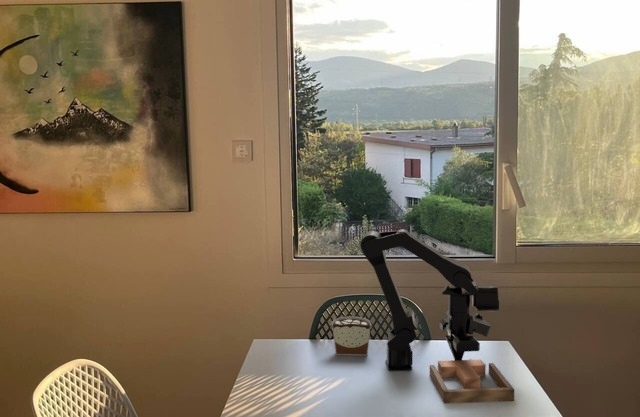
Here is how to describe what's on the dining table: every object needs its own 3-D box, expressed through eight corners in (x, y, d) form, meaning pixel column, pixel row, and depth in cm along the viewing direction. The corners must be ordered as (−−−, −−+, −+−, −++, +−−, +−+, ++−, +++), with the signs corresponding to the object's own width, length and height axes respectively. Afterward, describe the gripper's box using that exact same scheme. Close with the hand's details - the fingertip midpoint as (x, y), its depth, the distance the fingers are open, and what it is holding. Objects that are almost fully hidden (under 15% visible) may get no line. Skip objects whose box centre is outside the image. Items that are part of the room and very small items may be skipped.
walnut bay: (444, 403, 150) (444, 391, 150) (429, 375, 166) (429, 365, 166) (514, 400, 151) (514, 389, 151) (492, 373, 167) (493, 363, 167)
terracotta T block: (449, 390, 157) (449, 379, 157) (437, 371, 169) (438, 360, 169) (495, 388, 158) (495, 377, 157) (480, 369, 170) (480, 359, 169)
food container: (372, 347, 187) (372, 316, 185) (372, 355, 181) (372, 323, 179) (332, 346, 188) (332, 315, 186) (330, 354, 182) (330, 322, 180)
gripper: (499, 320, 159) (498, 376, 161) (477, 298, 177) (476, 349, 180) (457, 321, 158) (456, 378, 161) (439, 299, 177) (438, 351, 179)
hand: (458, 363), depth 170 cm, fingers closed
